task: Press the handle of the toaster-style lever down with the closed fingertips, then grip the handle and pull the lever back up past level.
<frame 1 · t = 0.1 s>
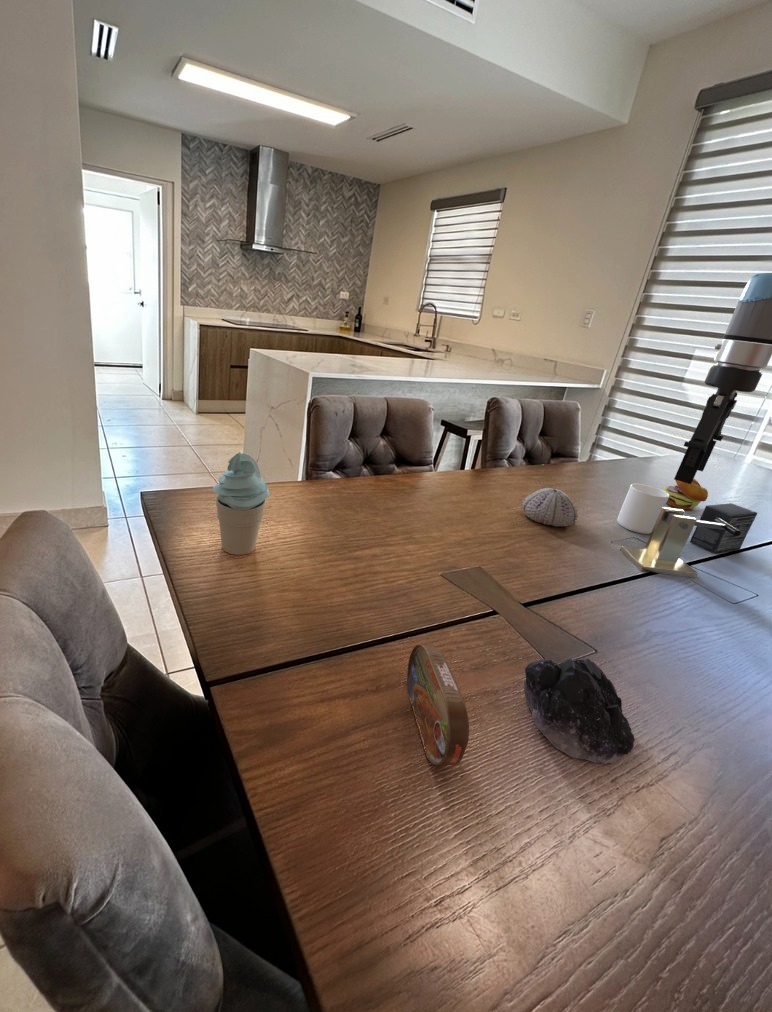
hand: (688, 475, 94), 23 cm above the table, tool pointing down, fingers open, 13 cm apart
bracket: (656, 563, 106), on the table
mug: (635, 526, 126), on the table
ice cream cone: (237, 547, 93), on the table
tin: (427, 726, 59), on the table
sea urchin shell: (545, 519, 123), on the table
crystal cluster: (570, 722, 62), on the table
small box: (713, 546, 119), on the table
lever: (699, 523, 102), point 11 cm above the table, hinge at 0.0°
cheeseburger: (677, 505, 145), on the table
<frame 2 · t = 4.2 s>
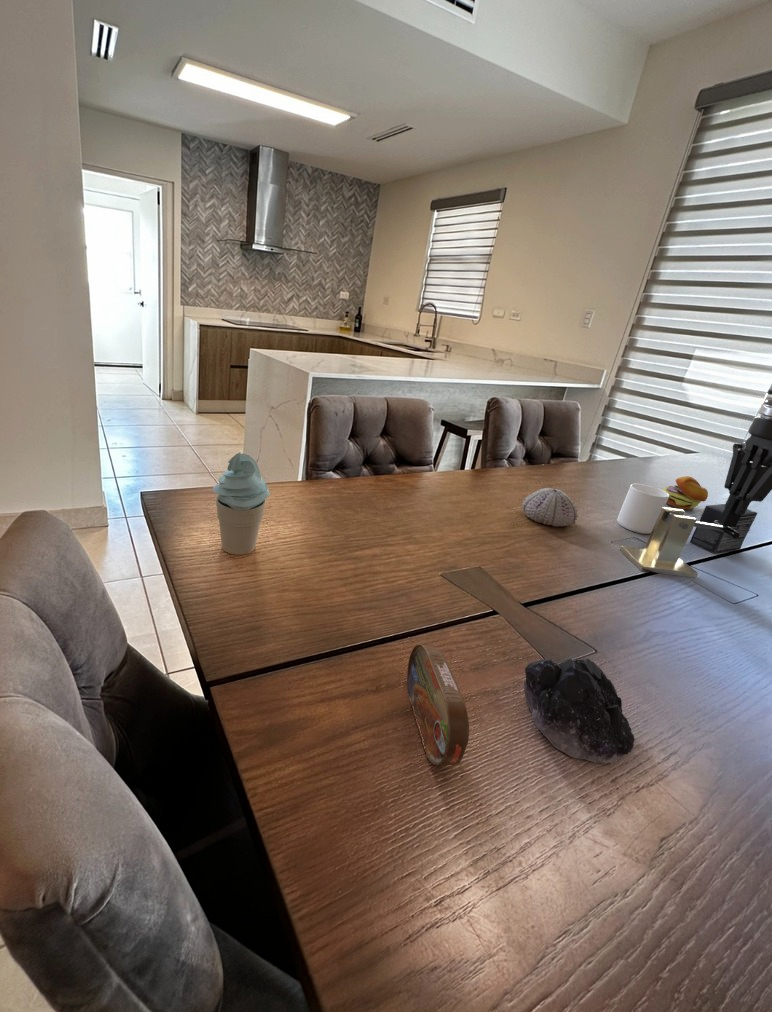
hand: (726, 524, 102), 11 cm above the table, tool pointing down, fingers closed
lever: (699, 524, 102), point 11 cm above the table, hinge at -2.7°, touching gripper
everything else where it was.
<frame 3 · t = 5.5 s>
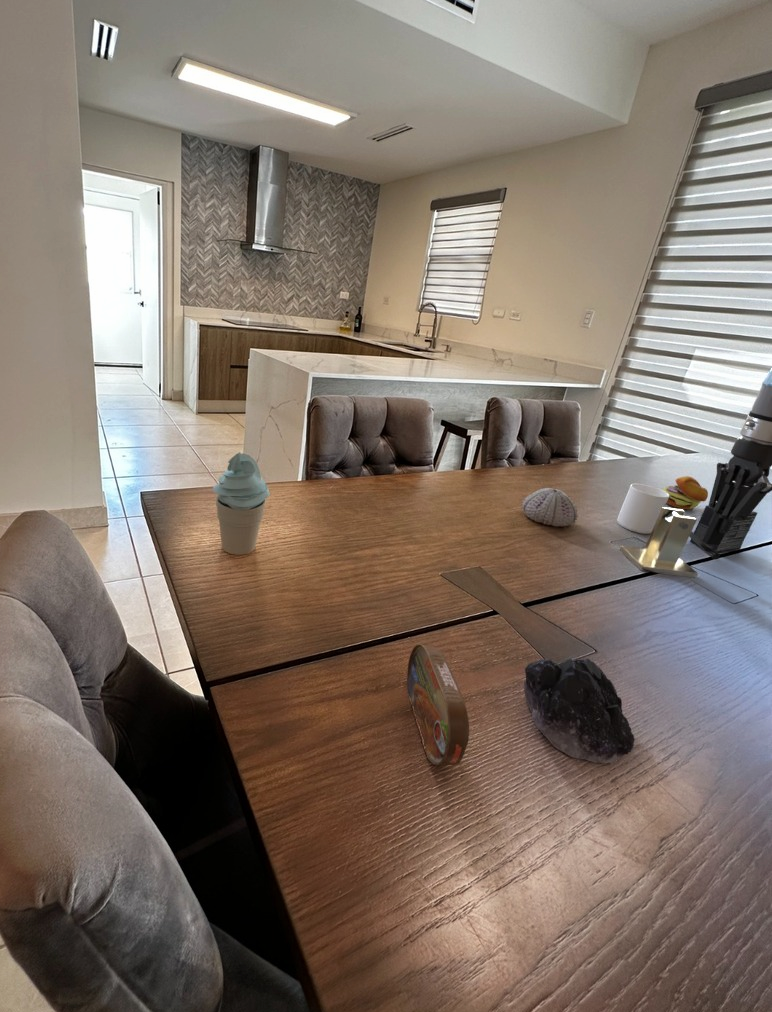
hand: (710, 542, 104), 7 cm above the table, tool pointing down, fingers closed
lever: (690, 534, 103), point 8 cm above the table, hinge at -32.6°, touching gripper
everything else where it was.
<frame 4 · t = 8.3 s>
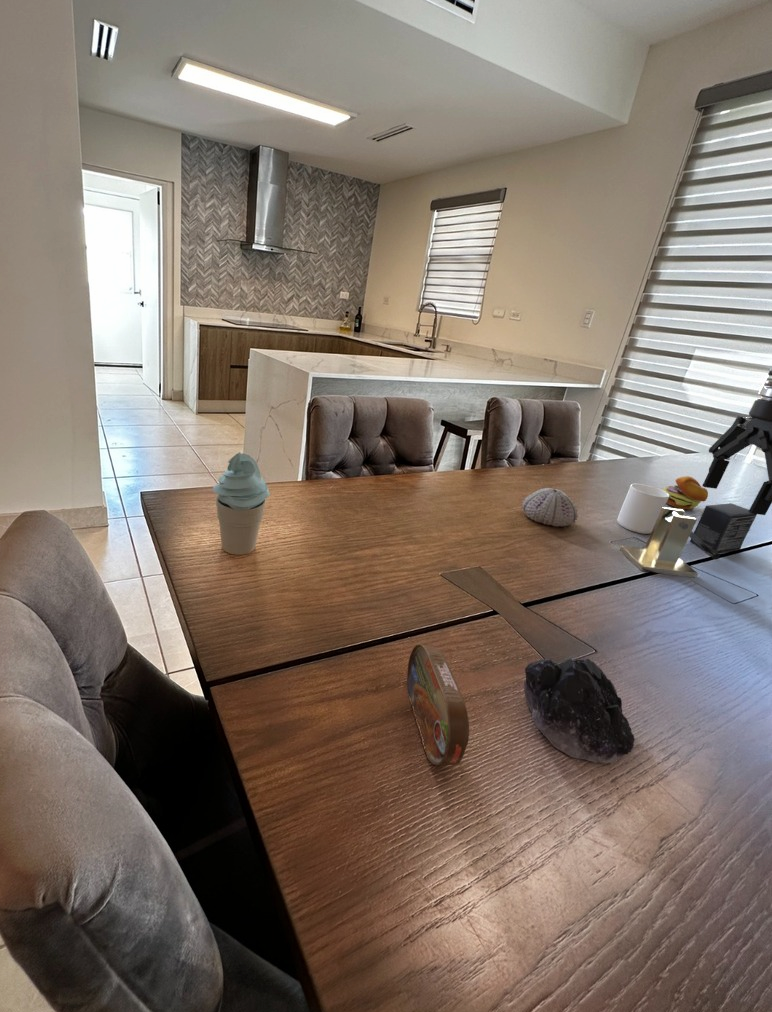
hand: (731, 499, 100), 17 cm above the table, tool pointing down, fingers open, 13 cm apart
lever: (690, 534, 103), point 8 cm above the table, hinge at -32.7°
everything else where it was.
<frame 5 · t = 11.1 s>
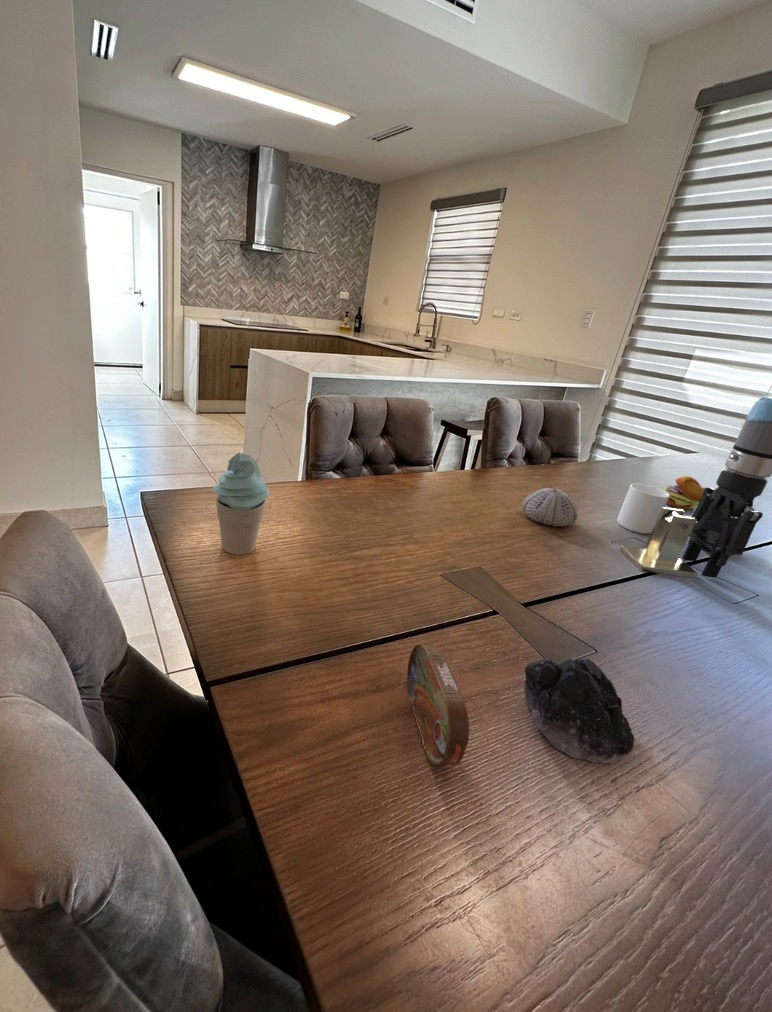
hand: (698, 567, 106), 0 cm above the table, tool pointing down, fingers closed on lever, 6 cm apart
lever: (690, 534, 103), point 8 cm above the table, hinge at -32.7°, touching gripper
everything else where it was.
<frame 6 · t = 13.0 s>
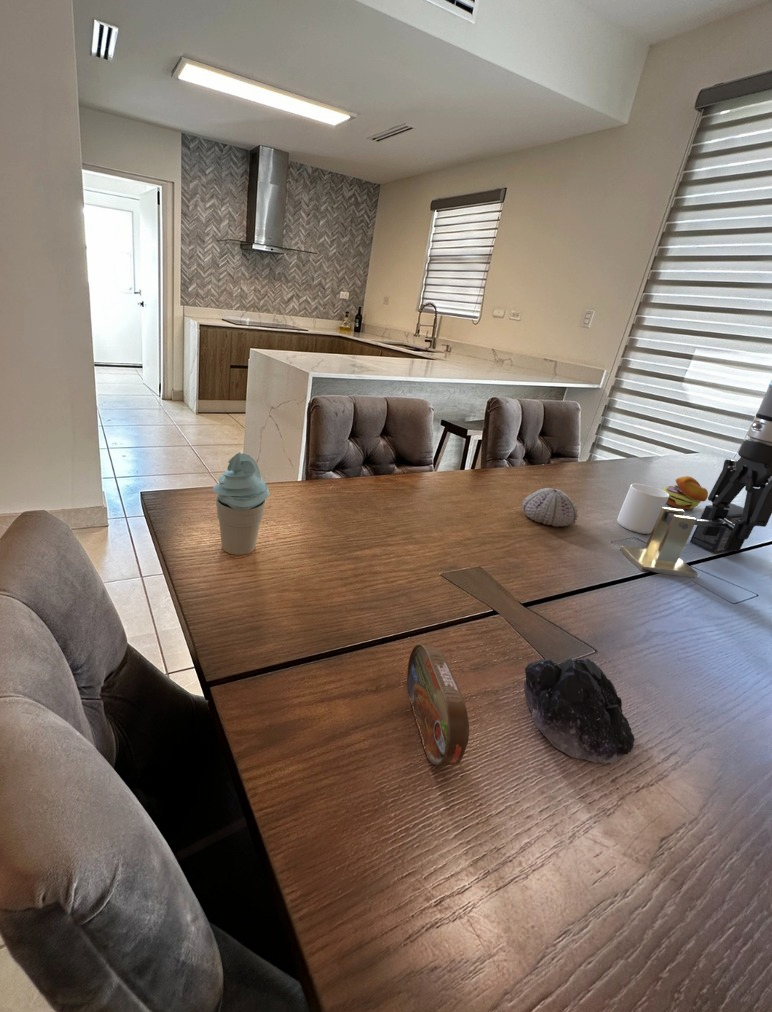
hand: (720, 542, 103), 7 cm above the table, tool pointing down, fingers closed on lever, 6 cm apart
lever: (700, 522, 102), point 11 cm above the table, hinge at 3.2°, touching gripper
everything else where it was.
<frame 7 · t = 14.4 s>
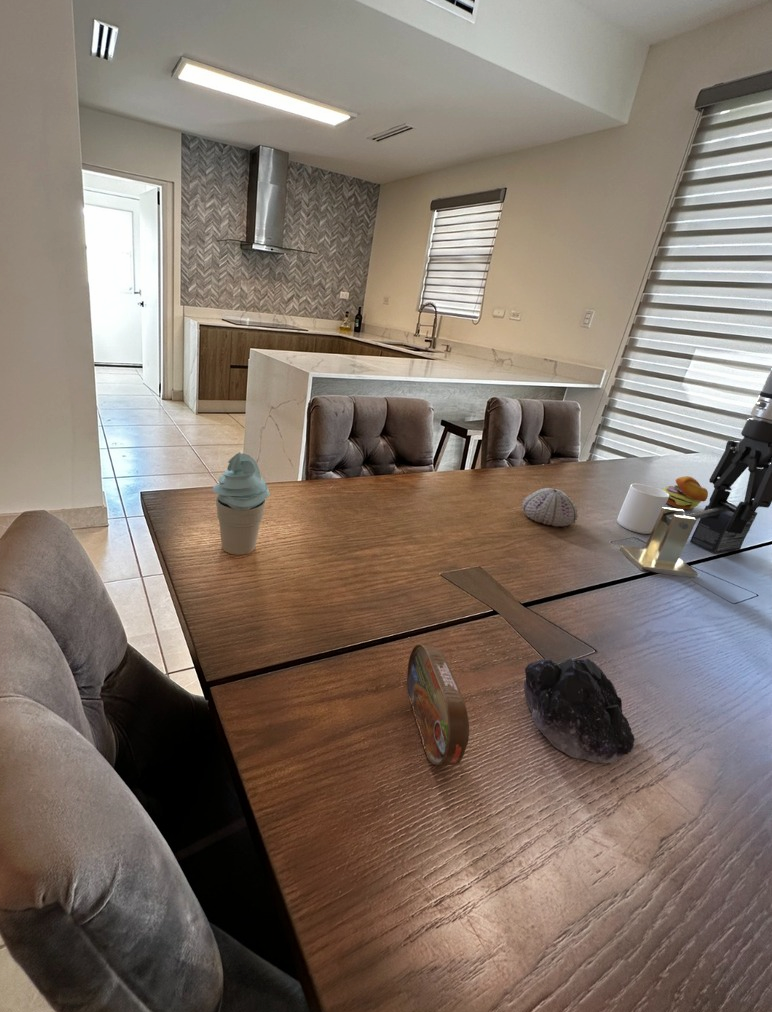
hand: (721, 524, 102), 11 cm above the table, tool pointing down, fingers open, 6 cm apart
lever: (701, 514, 101), point 13 cm above the table, hinge at 24.5°
everything else where it was.
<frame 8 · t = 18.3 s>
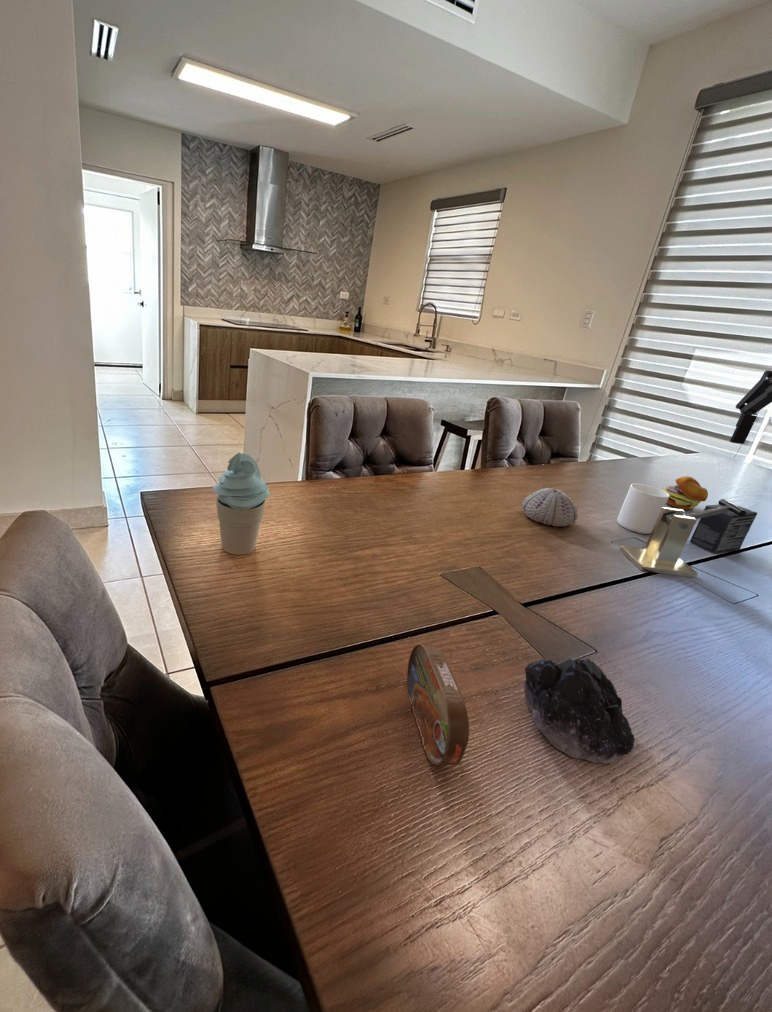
hand: (759, 452, 102), 27 cm above the table, tool pointing down, fingers open, 13 cm apart
nothing on the table moved.
at the end: lever reached -33° during the clip, +24° at the end; lever at +24° (first picture: +0°) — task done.
